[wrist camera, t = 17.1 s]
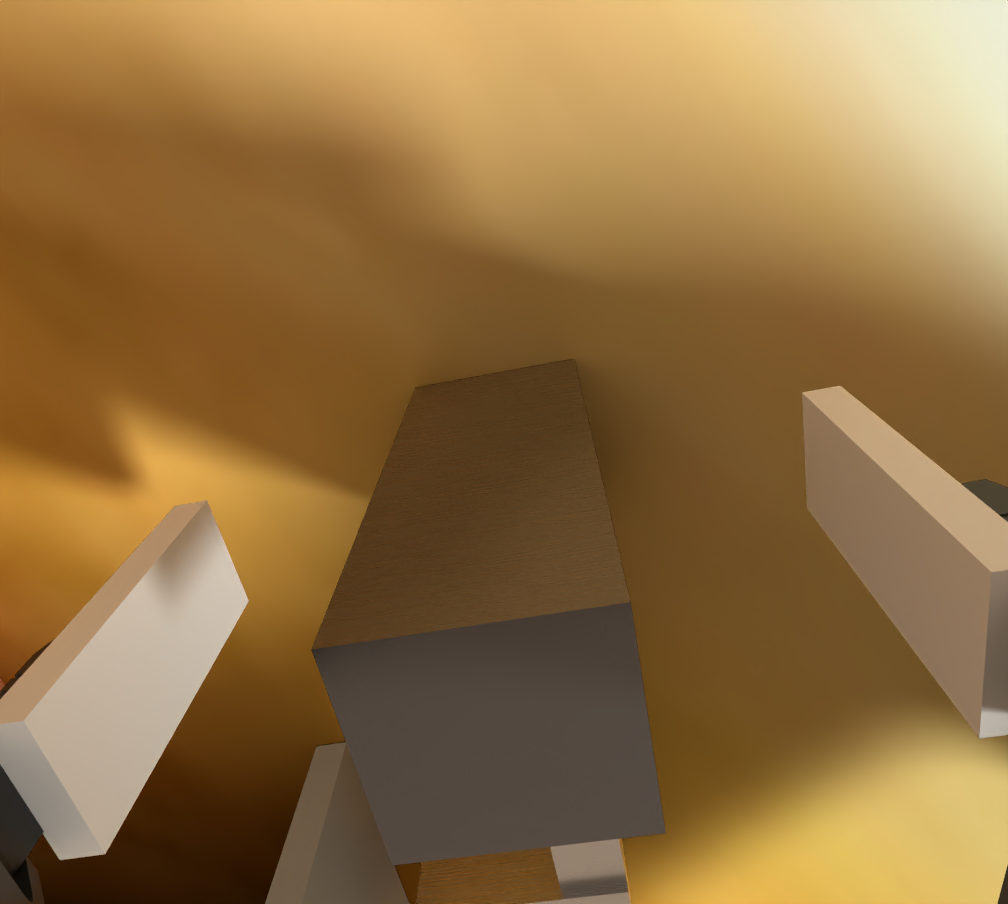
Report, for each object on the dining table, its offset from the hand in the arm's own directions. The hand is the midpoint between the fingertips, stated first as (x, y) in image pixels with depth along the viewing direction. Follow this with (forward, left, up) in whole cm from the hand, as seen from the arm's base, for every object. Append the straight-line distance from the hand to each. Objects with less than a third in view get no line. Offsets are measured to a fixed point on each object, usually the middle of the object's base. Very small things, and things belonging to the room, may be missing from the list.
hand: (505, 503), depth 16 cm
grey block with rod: (+2, +6, -3) cm, 7 cm away
